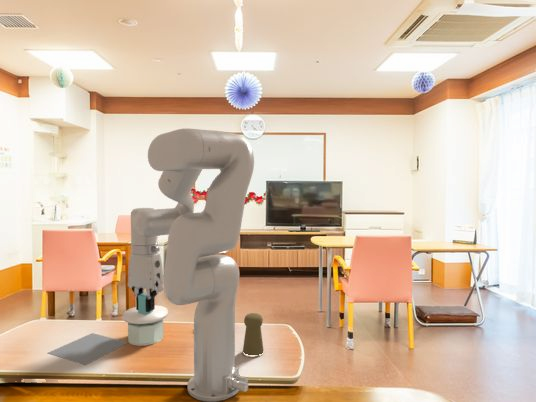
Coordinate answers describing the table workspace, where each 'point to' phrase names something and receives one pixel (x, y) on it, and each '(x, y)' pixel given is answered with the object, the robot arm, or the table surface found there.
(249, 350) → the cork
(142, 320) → the lid
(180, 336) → the table surface
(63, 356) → the mat
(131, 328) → the bowl
